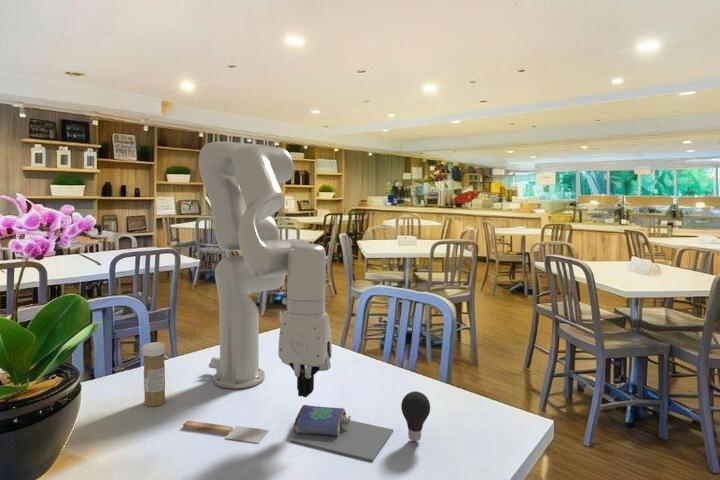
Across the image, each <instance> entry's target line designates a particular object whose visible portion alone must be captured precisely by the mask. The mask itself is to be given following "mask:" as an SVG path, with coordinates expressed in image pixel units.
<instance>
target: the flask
mask: <svg viewBox="0 0 720 480" xmlns="http://www.w3.org/2000/svg"><path fill="white" fill-rule="evenodd" d="M351 418H352V416H351V415H348V417H347V411H346V409H345V408H342V407H328V406H327V407H326V406H317V405H316V406H314V405H308V404H303V405H302V406H301V407H300V409H299V412H298V414H297V415H296V417H295V420H294V423H293V432H294V433H295V434H297V433H309V434H323V435H334V436H338V435H339V431H340V428H341V425H342V424H344V425H345V424H347V426H350V424H349V422H350V420H351Z"/></svg>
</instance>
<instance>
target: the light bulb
mask: <svg viewBox="0 0 720 480" xmlns="http://www.w3.org/2000/svg"><path fill="white" fill-rule="evenodd" d="M400 407H401V412H402V415H403V417H404V419H405V421H406V424H407V428H408V432H407V434H408V439H409V440H410V441H411V442H412V443H418V441H420V440H421V438H422V430H423V428H424V427H423V426H424V424H425V422H426V420H427V419H428V417H429V415H430V412H431V403H430V401H429V399H428V397H427V395H425V394H424V393H422V392H420V391H410V392H408V393H407V394H406V395H405V396H404V397H403V399H402V401H401V405H400Z"/></svg>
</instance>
